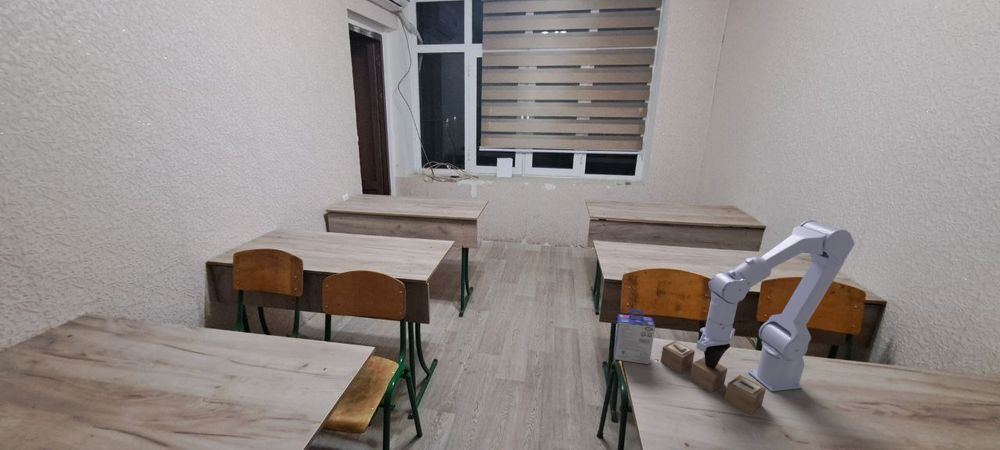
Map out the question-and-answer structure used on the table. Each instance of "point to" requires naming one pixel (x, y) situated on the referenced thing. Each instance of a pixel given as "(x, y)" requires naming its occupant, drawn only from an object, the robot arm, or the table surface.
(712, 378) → the plain block
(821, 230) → the robot arm
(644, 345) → the ink cartridge box
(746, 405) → the numbered block one
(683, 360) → the numbered block seven
